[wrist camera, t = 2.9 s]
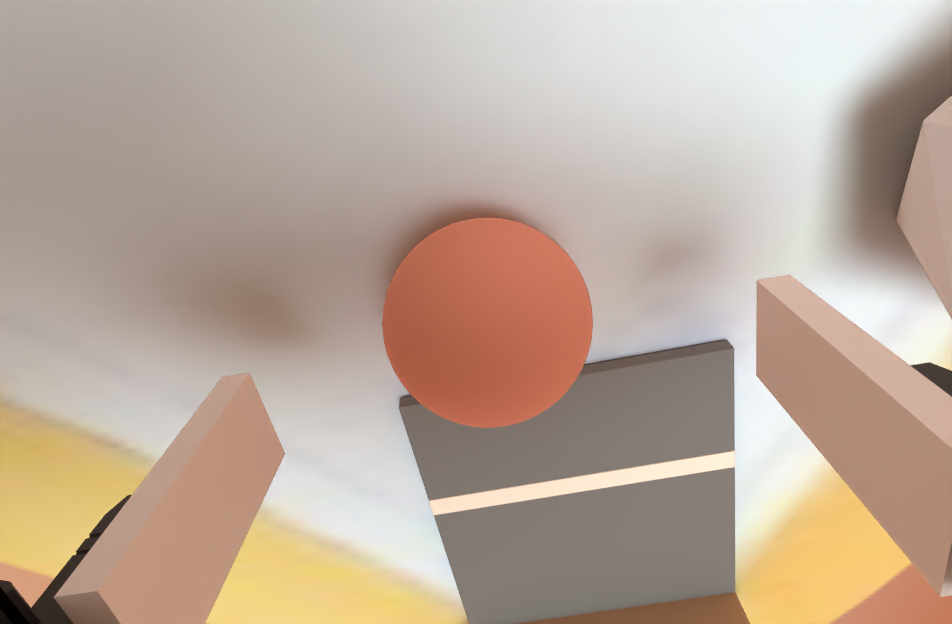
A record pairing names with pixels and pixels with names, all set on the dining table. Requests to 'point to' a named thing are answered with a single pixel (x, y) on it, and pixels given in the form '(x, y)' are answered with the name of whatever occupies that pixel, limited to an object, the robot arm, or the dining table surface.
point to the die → (931, 201)
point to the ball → (487, 322)
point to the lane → (595, 497)
